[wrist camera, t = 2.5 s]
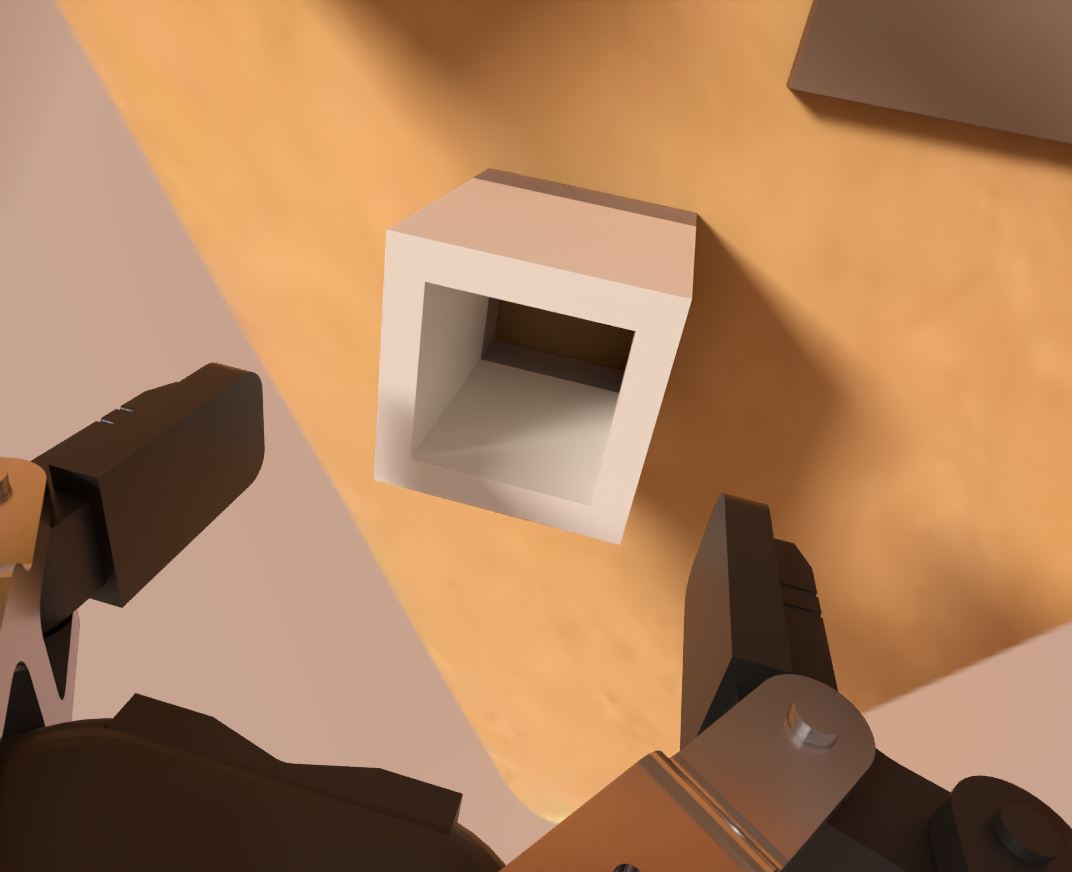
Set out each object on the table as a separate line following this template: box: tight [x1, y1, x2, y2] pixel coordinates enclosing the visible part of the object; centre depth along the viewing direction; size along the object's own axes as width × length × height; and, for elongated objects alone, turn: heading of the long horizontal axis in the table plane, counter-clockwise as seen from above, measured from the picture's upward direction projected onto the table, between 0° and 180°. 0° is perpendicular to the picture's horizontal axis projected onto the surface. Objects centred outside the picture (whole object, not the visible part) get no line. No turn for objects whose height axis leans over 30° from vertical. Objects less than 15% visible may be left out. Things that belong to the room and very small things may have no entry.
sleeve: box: [374, 168, 697, 545], centre depth 17 cm, size 6×6×7 cm
